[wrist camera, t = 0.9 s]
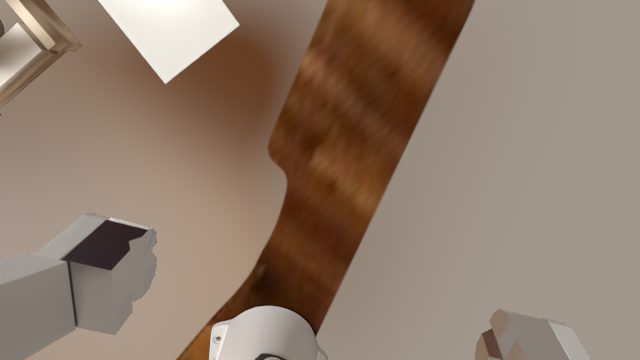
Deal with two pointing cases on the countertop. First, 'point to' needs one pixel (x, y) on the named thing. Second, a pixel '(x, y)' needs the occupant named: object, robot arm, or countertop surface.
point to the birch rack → (45, 24)
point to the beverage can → (1, 29)
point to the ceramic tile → (172, 30)
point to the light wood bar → (22, 60)
